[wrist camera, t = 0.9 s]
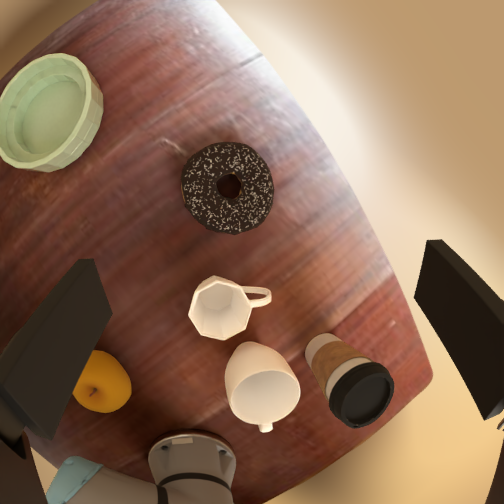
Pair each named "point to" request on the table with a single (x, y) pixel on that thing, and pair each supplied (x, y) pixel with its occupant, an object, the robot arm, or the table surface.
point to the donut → (224, 208)
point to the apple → (103, 384)
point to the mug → (260, 385)
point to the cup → (223, 307)
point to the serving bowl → (49, 113)
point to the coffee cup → (349, 380)
